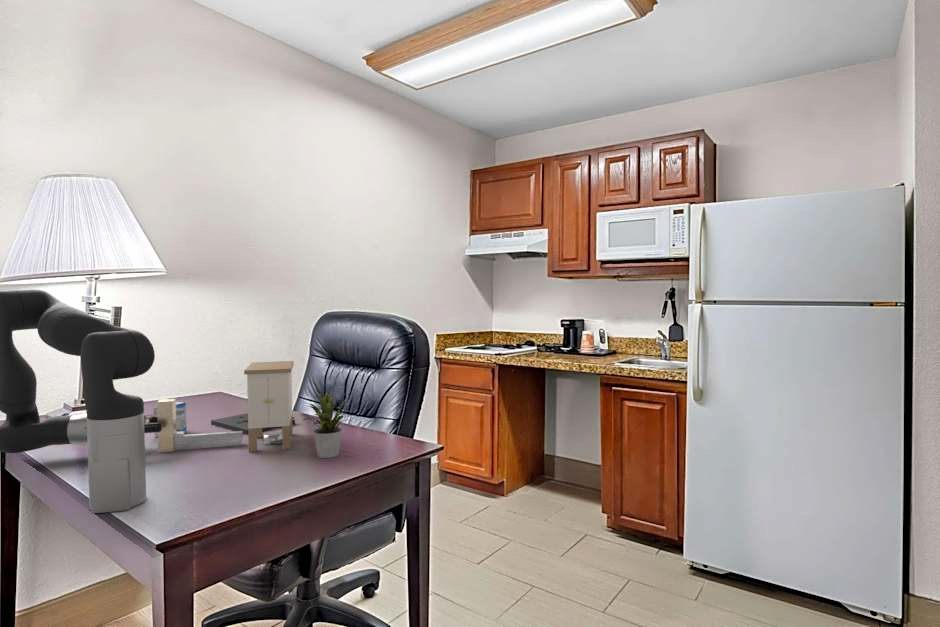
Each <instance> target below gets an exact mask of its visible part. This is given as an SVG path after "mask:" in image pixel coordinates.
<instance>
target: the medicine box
mask: <svg viewBox="0 0 940 627" xmlns="http://www.w3.org/2000/svg"><path fill="white" fill-rule="evenodd" d="M152 412H153V413H152V414H154V416H157V406H155V407H153V411H152ZM187 426H188V425H187V403H186V402H184V401H183V402H182V401H176V430H177V432H184V431H185V432H186V431H187V429H188V428H187ZM153 434H154V438H158V432H153Z"/></svg>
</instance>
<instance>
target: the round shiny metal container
mask: <svg viewBox="0 0 940 627" xmlns="http://www.w3.org/2000/svg"><path fill="white" fill-rule="evenodd" d="M263 444H264V445H266V446H275V445H280V444H282V431H269V432H266V433H264V434H263Z"/></svg>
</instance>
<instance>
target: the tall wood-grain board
mask: <svg viewBox="0 0 940 627" xmlns="http://www.w3.org/2000/svg"><path fill="white" fill-rule="evenodd" d="M176 402H177V399H176V398H163V399H159V400H158V401H156V407H157V419H158V423H161V424H162V430H161V431H160V432H158V437H157V448H158V450H157V451H158V453H169V452H174V451H182V450H196V449H197V450H198V449H208V448H209V449H210V448H211V449H212V448H221V447H222V448H223V447H224V448H225V447H235V446H237V447H239V446H242V445H243V443H244V442H243V440H244V438H243V432H242V431H223V432H222V431H221V432H210V433H209V432H206V433H191V434H186V433H185V432H186V431H184V432H177V430H176Z"/></svg>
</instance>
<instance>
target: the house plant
mask: <svg viewBox="0 0 940 627" xmlns="http://www.w3.org/2000/svg"><path fill="white" fill-rule="evenodd" d="M332 393H333V391H331V392H330V394H329V393H328V392H325V394H324V396H322V394H321V393H319V392H318V391H316V394H317V396H318V399H319V400H318V401H319V404H320V407H321V410H322V411H321V410H320V409H319V408H318V406H316V405H315V404H313V403H311V401H310V400H309V399H307V398H304V397H302V399H304V401H302V402H303V404H304V405H307V406H306V407H308V403H309V407H310V408H311V409H312V410H313V411H314V412H315V414H314V416H317V417H318V418H319V419H316V418H314V417H309V416H308V415H305V414H303V416H304V417H305V418H303V419H302V421H301V423H302V422H304V421H307V420H310V421H311V422H313V424H312V427H315V426H317V427H318V428H316V429H314V430H313V433H312V434H313V438H314V443H315V449H316V455H317V457H318V458H320V459H330V458H335V457H338V456H339V455H340V454H339V453H340V449H341V442H342V433H343V428H341V427H339V426H340V425H341V424H342V423H343V422H345V421H351V420H350V419H343V420H341V419H342V418H344V417H345V416H344V415H342V413H345V412H346V413H349V411H347V410H345V411H341V410H342V409H343V407H344V405H345V404H346V403H347V402H348V403H349V400H346V399H344V400H343V402H342V403H341V404H340V406H339V407H338V409H337V411H336V413H335V415H334V413H333V412H334V408H335V407H334V406H335V402H334V397H333V396H332ZM297 398H298V397H296V399H297ZM305 400H306V401H307V402H306V401H305ZM351 400H353V399H352V398H351V399H350V401H351ZM333 415H334V416H333ZM340 420H341V421H340ZM339 421H340V422H339ZM318 424H319V425H320V426H319V425H318Z"/></svg>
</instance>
